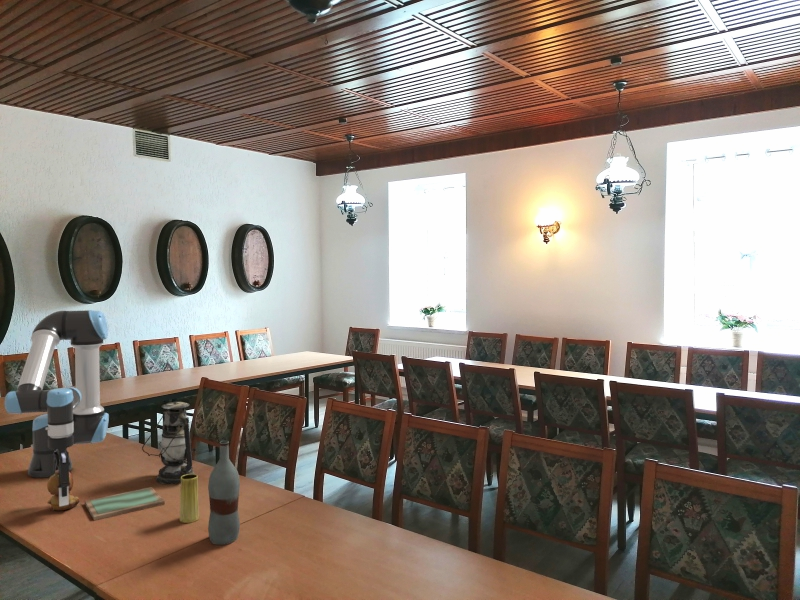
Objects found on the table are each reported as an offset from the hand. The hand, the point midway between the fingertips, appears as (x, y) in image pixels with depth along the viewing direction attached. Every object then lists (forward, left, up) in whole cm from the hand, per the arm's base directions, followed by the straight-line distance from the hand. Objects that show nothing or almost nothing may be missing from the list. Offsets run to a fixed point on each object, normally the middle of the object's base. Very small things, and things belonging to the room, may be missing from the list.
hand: (61, 500), depth 194 cm
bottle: (+53, +36, -3) cm, 64 cm away
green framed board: (+8, +18, -3) cm, 20 cm away
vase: (+33, +32, -3) cm, 46 cm away
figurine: (0, 0, -3) cm, 3 cm away
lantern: (-7, +38, -3) cm, 39 cm away
